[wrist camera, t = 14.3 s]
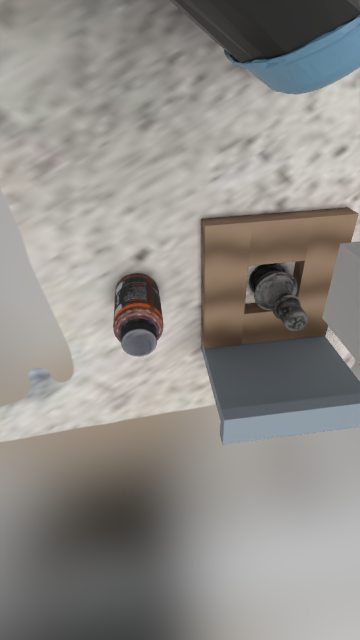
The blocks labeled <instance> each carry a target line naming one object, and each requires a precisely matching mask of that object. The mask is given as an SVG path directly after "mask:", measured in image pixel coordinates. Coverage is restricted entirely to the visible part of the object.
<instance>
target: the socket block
mask: <svg viewBox="0 0 360 640" xmlns="http://www.w3.org/2000/svg"><path fill="white" fill-rule="evenodd" d="M357 218H358V213H356V212H355V211H353V210H351V209H349V208H337V209H324V210H311V211H299V212H286V213H273V214H260V215H247V216H234V217H222V218H209V219H202V342H203V346H204V349H209V348H218V347H227V346H236V345H246V344H255V343H264V342H274V341H283V340H292V339H302V338H311V337H320V336H325V335H326V331H327V327H328V325H327V323H326V322H325V321H324V320H323V318H322V317H323V313H324V309H325V305H326V301H327V296H328V292H329V288H330V284H331V280H332V276H333V272H334V268H335V264H336V259H337V255H338V251H339V247H340V244H341V243H351V240H352V236H353V232H354V229H355V225H356V221H357ZM295 261H296V264H295V269H294V275H293V277H294V278H295V280H296V282H297V292H296V295H295V296H296V297H298V298H299V300H300V302H301V307H302V309H303V310H304V311H305V313H306V314H307V317H308V321H307V324H306V326H305V327H304V328H303V330H298V331H291V330H289V329H287V328H286V327H285V325H284V324H283V322H282V320H281V319H279V318H277V317H276V316H275V315H274V314H273V310H265V309H263V308H261V307H260V306H258V304H257V303H252V304H245V298H246V287H247V276H248V266H251V265H262V264H273V263H284V262H295Z"/></svg>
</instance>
